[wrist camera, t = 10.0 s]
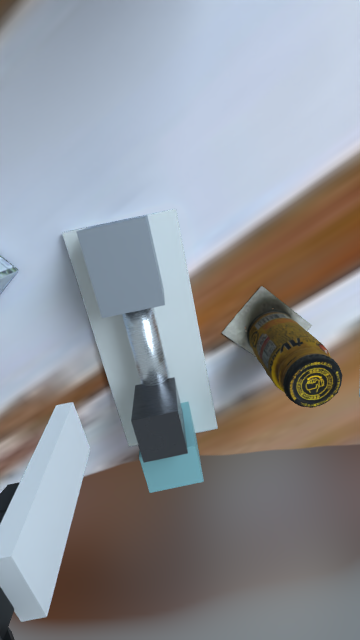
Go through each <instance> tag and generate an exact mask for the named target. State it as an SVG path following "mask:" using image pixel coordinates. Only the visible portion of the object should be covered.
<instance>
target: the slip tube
mask: <svg viewBox="0 0 360 640" xmlns="http://www.w3.org/2000/svg"><path fill="white" fill-rule="evenodd" d="M122 317H123V320H124V324H125V328H126V331H127V335H128V339H129V342H130V346H131V350H132V353H133V357H134V361H135V364H136V368H137V372H138V375H139V379H140V382H141V384H140V385H135V392H134V400H133V409H132V417H131V422H132V426H133V429H134V432H135V436H136V439H137V442H138V446H139V449H140V452H141V456H142V459H143V462H144V463H145V462H150V461H154V460H159V459H164V458H169V457H174V456H178V455H183V454H188V449H187V441H186V433H185V425H184V417H183V412H182V407H181V403H180V399H179V394H178V390H177V386H176V381H175V377H173V378H171V377H170V373H169V369H168V364H167V360H166V356H165V352H164V347H163V343H162V339H161V335H160V330H159V326H158V322H157V318H156V314H155V309H154V308H149V309H144V310H140V311H135V312H130V313H125V314H122Z"/></svg>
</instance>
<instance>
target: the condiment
mask: <svg viewBox="0 0 360 640" xmlns="http://www.w3.org/2000/svg"><path fill="white" fill-rule="evenodd" d="M272 308H274V309H272ZM245 326H246V329H245V328H244V327H245ZM311 326H312V325H311V324H309V323H308V322H307V321H306V320H304V319H303V318H302V317H301V316H299V315H298V314H297V313H295V312H294V311H293V310H292V309H290V308H289V307H288V306H287V305H285V304H284V303H283V302H281V301H280V300H279V299H278V298H276V297H275V296H274V295H273V294H271V293H270V292H269V291H267V290H266V289H265V288H264V287H262V286H261V287H260V288H259V290H258V291H257V292H256V293H255V294H254V295H253V296H252V297H251V299H250V300H249V301H248V302H247V303H246V304H245V306H244V307H243V308H242V309H241V310H240V312H239V313H238V314H237V315H236V316H235V318H234V319H233V320H232V321H231V322H230V324H229V325H228V326H227V327H226V329H225V330H224V331H223V332H222V334H224V335H225V336H227V337H228V338H229V339H231V340H232V341H234V342H235V343H237V344H238V345H239V346H241V347H242V348H244V349H245V350H247V351H248V352H249V353H251V354H252V355H254V356H255V357H257V359H258V360H259V362H260V363H261V364H262V366H263V367H264V369H265V371H266V373H267V375H268V376H269V377H270V378H271V380H272V381H273V383H274V384H275V385H276V386H277V387H278V388H279V389H280V390H282V391H283V392H285V393H286V396H288V398H289V399H290V400H291V401H293V402H294V403H295V404H298V405H299V406H302V407H310V408H311V407H316V406H320V405H322V404H324V403H326V402H328V401H329V400H330V399H331V398H332V397H334V396H335V394H337V393H338V390H339V388H340V386H341V381H342V373H341V370H340V368H339V366H338V364H337V363H336V362H335V361H334V360H333V359H332V358H331V357H330V355H329V353H328V351H327V349H326V348H325V347H324V345H322V344H321V343H320V342H319V341H318V340H317V339H315V338H314V337H313V336H312V335H311V334H310V333H309V332H307V331H308V330H309V328H310V327H311ZM245 330H247V332H245Z"/></svg>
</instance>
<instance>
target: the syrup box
mask: <svg viewBox="0 0 360 640" xmlns="http://www.w3.org/2000/svg"><path fill="white" fill-rule="evenodd" d="M17 272H18V269H17V268H16V267H14V266H13V265H12V264H11V263H9V262H8V261H7V260H5V259H4V258H3V257H1V256H0V294H1V292H2V291H3V290H4V288H5V287H6V286H7V285H8V283H9V282H10V281H11V280H12V278H13V277H14V276H15V275H16V273H17Z"/></svg>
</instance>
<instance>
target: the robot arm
mask: <svg viewBox="0 0 360 640" xmlns="http://www.w3.org/2000/svg"><path fill="white" fill-rule="evenodd" d="M359 397H360V390H359ZM89 452H90V446H89V444H88V441H87V438H86V436H85V433H84V430H83V428H82V425H81V422H80V420H79V417H78V414H77V412H76V409H75V406H74V404H73V402H71V403H66V404H61V405H56V407H55V409H54V411H53V413H52V415H51V418H50V420H49V422H48V424H47V426H46V428H45V430H44V432H43V435H42V437H41V439H40V441H39V443H38V445H37V447H36V449H35V452H34V454H33V456H32V458H31V460H30V462H29V464H28V466H27V468H26V471H25V473H24V475H23V477H22V479H21V481H20V483H15V484H10V485H7V487H6V488H5V489H4V490H3V491H2V492H1V493H0V640H14V637H13V634H12V632H11V630H10V629H9V627H8V626H9V623H10V620H11V617H12V614H13V611H15V613H16V614H17V616H18V617H19V619H20V621H27V620H32V619H38V618H43V617H47V614H48V611H49V607H50V603H51V599H52V595H53V591H54V587H55V583H56V580H57V576H58V572H59V568H60V564H61V560H62V557H63V552H64V549H65V545H66V541H67V537H68V533H69V529H70V525H71V522H72V518H73V514H74V510H75V506H76V503H77V498H78V495H79V491H80V487H81V483H82V479H83V476H84V472H85V468H86V464H87V460H88V456H89Z"/></svg>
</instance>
